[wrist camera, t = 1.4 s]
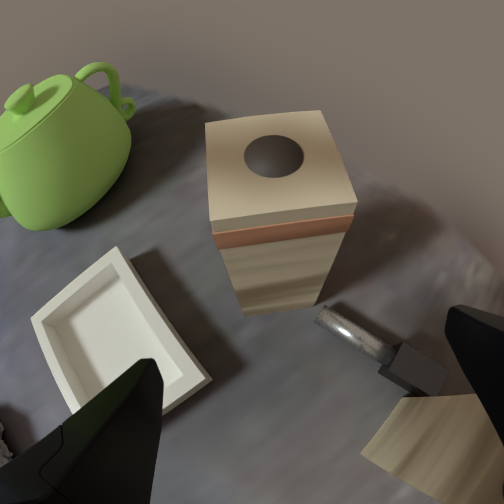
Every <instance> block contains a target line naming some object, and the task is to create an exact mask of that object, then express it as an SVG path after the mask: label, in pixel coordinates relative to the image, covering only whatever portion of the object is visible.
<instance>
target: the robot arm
mask: <svg viewBox="0 0 504 504" xmlns="http://www.w3.org/2000/svg"><path fill="white" fill-rule="evenodd" d="M445 336H446V338H447V340H448V342H449V344H450V346H451V348H452V350H453V352H454V354H455V356H456V358H457V360H458V362H459V364H460V366H461V368H462V370H463V372H464V374H465V376H466V377H467V379H468V381H469V383H470V384H471V386H472V388H473V389H474V391H475V393H476V395H477V396H478V398H479V400H480V402H481V404H482V405H483V407H484V409H485V411H486V413H487V415H488V417H489V418H490V420H491V422H492V424H493V426H494V428H495V430H496V432H497V434H498V436H499V438H500V440H501V442H502V444H503V446H504V317H502V316H498V315H495V314H492V313H488V312H485V311H482V310H478V309H475V308H471V307H468V306H465V305H461V304H459V305H456V306H452V307H451V308H450V309H449V310H448V315H447V320H446V325H445ZM163 393H164V381H163V378H162V375H161V373H160V370H159V368H158V365H157V363H156V361H155V359H153V358H142V359H139V360H138V361H137V362H136V363H134V364H133V365H132V366H131V367H130V368H128V369H127V370H126V371H125V372H124V373H122V374H121V375H120V376H119V377H118V378H116V379H115V380H114V381H113V382H112V383H110V384H109V385H108V386H107V387H106V388H104V389H103V390H102V391H101V392H100V393H98V394H97V395H96V396H95V397H94V398H92V399H91V400H90V401H89V402H87V403H86V404H85V405H84V406H83V407H81V408H80V409H79V410H78V411H77V412H75V413H74V414H73V415H72V416H70V417H69V418H68V419H67V420H66V421H64V422H63V423H62V425H59V426H58V427H57V428H56V429H55V430H53V431H52V432H51V433H50V434H48V435H47V436H46V437H44V438H43V439H42V440H40V441H39V442H38V443H36V444H35V445H33V446H32V447H31V448H29V449H28V450H26V451H25V452H23V453H22V454H20V455H19V456H17V457H15V458H14V459H12V460H11V461H9V462H8V463H6V464H5V465H3V466H2V467H0V504H150V498H151V491H152V484H153V477H154V471H155V464H156V458H157V452H158V446H159V440H160V434H161V426H162V409H163Z"/></svg>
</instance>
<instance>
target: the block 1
mask: <svg viewBox="0 0 504 504" xmlns="http://www.w3.org/2000/svg"><path fill="white" fill-rule="evenodd" d="M205 134H206V159H207V180H208V198H209V215H210V223H211V226H212V231H213V237H214V239H215V242H216V245H217V248H218V250H220V251H221V254H222V257H223V260H224V262H225V265H226V268H227V271H228V274H229V276H230V279H231V282H232V285H233V287H234V290H235V293H236V295H237V298H238V301H239V304H240V306H241V309H242V312H243V314H244V317H247V316H254V315H261V314H268V313H275V312H282V311H288V310H295V309H301V308H307V307H313V306H314V304H315V302H316V300H317V298H318V295H319V293H320V291H321V289H322V287H323V284H324V282H325V280H326V278H327V275H328V273H329V271H330V269H331V266H332V264H333V262H334V259H335V257H336V255H337V252H338V250H339V247H340V245H341V243H342V240H343V238H344V235H345V233H346V232H348V230H349V228H350V225H351V223H352V221H353V218H354V216H355V215H354V210H355V208H356V205H357V203H358V201H357V198H356V196H355V193H354V190H353V188H352V185H351V182H350V180H349V177H348V174H347V172H346V169H345V167H344V164H343V162H342V159H341V157H340V154H339V152H338V150H337V147H336V145H335V142H334V140H333V138H332V136H331V133H330V131H329V129H328V126H327V124H326V122H325V120H324V117H323V115H322V113H321V111H320V110H319V111H301V112H288V113H278V114H267V115H259V116H250V117H242V118H235V119H228V120H221V121H215V122H209V123H205Z"/></svg>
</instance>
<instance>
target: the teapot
mask: <svg viewBox="0 0 504 504" xmlns="http://www.w3.org/2000/svg"><path fill="white" fill-rule="evenodd" d="M99 71H104V72H105V73H106V74H107V76H108V79H109V86H110V101H109V100H107V99H106V98H105V97H104V96H103V95H102V94H100V93H99V92H97V91H96V90H94V89H93V88H91V87H90V86H88V85H86V84H84V83H83V81H84V80H85V79H86V78H87V77H89V76H90V75H92V74H93V73H96V72H99ZM126 104H128V106H127V108H126V109H125V110H124V111H123V112H122V110H121V107H123V106H124V105H126ZM4 107H5V108H6V109H7V110H6V111H5V112H4V113H3V114H2V116H1V117H0V218H4V217H8V216H11V215H12V216H13V217H14V218H15V219H16V220H17V221H18V222H19V223H20V224H21V225H22V226H23V227H24V228H27V229H29V230H32V231H46V230H52V229H56V228H59V227H62V226H64V225H66V224H68V223H70V222H72V221H73V220H75V219H76V218H78V217H79V216H81V215H82V214H84V213H85V212H86V211H88V210H89V209H90V208H91V207H92V206H94V205H95V204H96V203H97V202H98V201H99V200H100V199H101V198H102V197H103V196H104V195H105V194H106V193H107V192H108V190H109V189H110V188H111V187H112V185H113V184H114V183H115V181H116V180H117V179H118V177H119V176H120V174H121V172H122V171H123V169H124V166H125V164H126V162H127V159H128V156H129V152H130V148H131V132H130V129H129V128H128V126H127V124H126V122H125V121H128V120H129V119H131V118H132V117H133V115H134V114H135V112H136V104H135V102H134V100H133V99H131V98H130V97H124V98H122V99H121V88H120V79H119V75H118V72H117V71H116V69H115V68H114V67H113V66H112V65H110V64H109V63H105V62H96V63H92V64H89V65H87V66H85V67H84V68H82V69H81V70H80V71H79V72H78V73H77V74H76V75H75V77H74V78H72V77H70V76H68V75H55V76H52V77H50V78H48V79H46V80H44V81H42V82H40V83H39V84H37V85H36V86H34V87H33V85H32V83H30V84H27V85H24V86H22V87H21V88H19V89H18V90H16V91H15V92H14V93H13V94H12V95H11V96H10V97H9V98H8V100H7V102H6V103H5V105H4Z"/></svg>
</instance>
